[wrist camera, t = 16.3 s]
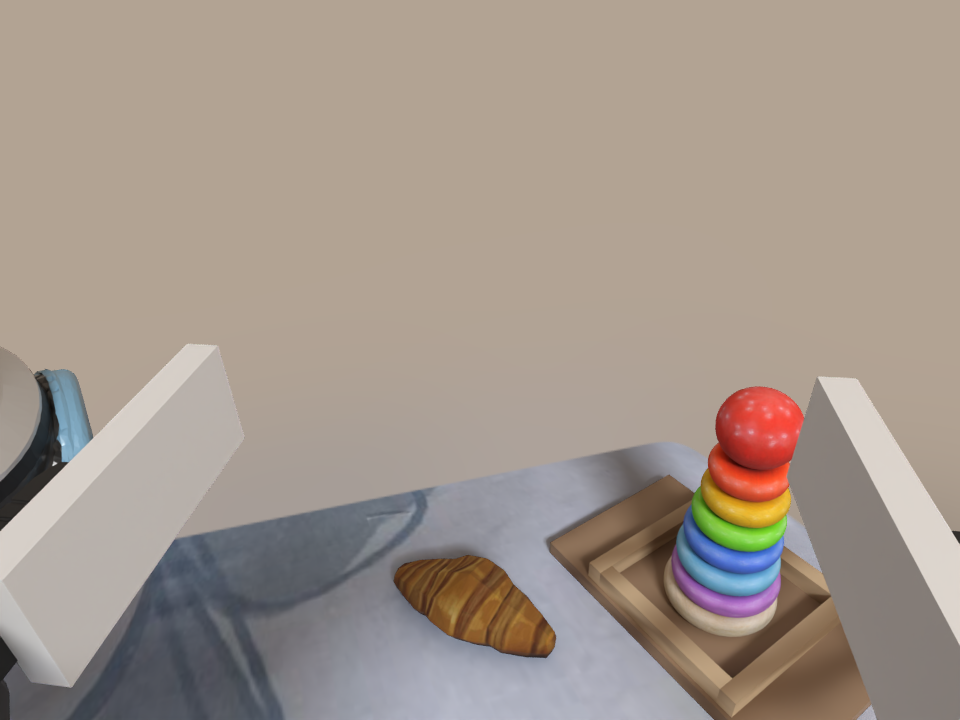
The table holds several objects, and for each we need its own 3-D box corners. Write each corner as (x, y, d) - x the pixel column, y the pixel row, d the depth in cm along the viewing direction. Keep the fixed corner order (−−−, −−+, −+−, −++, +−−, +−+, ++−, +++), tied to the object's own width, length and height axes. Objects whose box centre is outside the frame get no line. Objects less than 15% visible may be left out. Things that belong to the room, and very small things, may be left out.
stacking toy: (650, 556, 52) (682, 358, 42) (749, 551, 52) (804, 352, 42) (679, 645, 45) (726, 435, 35) (793, 639, 45) (872, 428, 35)
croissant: (572, 619, 49) (576, 574, 46) (534, 696, 44) (535, 652, 41) (422, 553, 54) (417, 510, 52) (374, 615, 49) (365, 571, 47)
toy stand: (549, 552, 54) (550, 529, 52) (667, 484, 60) (671, 462, 59) (784, 791, 38) (795, 768, 37) (909, 665, 45) (923, 641, 43)
